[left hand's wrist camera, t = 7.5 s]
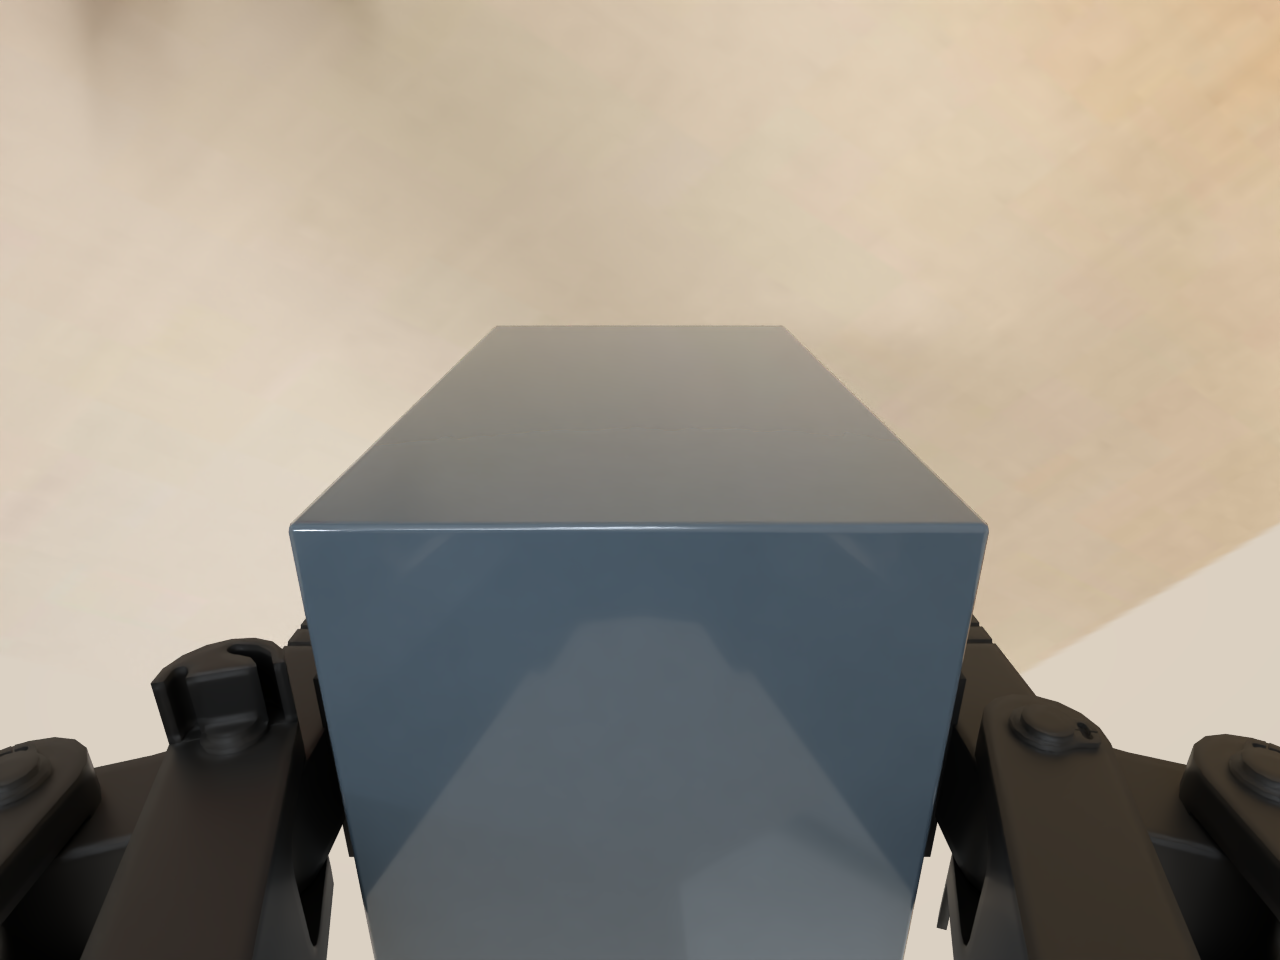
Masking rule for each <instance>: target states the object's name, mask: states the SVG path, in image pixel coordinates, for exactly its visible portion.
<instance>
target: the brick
mask: <svg viewBox="0 0 1280 960" xmlns="http://www.w3.org/2000/svg"><path fill="white" fill-rule="evenodd" d="M988 534H989V529H988V525H987V523H986V522H985V521H984V520H983V519H982V518H981V517H980V516H979V515H978V514H977V513H976V512H975V511H974V510H973V509H972V508H970V507H969V506H968V505H967V504H966V503H965V502H964V501H963V500H962V499H961V498H960V497H959V496H958V495H957V494H956V493H955V492H954V491H953V490H952V489H951V488H950V487H949V486H948V485H947V484H946V483H945V482H944V481H943V480H942V479H941V478H940V477H939V476H937V475H936V474H935V473H934V472H933V471H932V470H931V469H930V468H929V467H928V466H927V465H926V464H925V463H924V462H923V461H922V460H921V459H920V458H919V457H918V456H917V455H916V454H915V453H914V452H913V451H912V450H911V449H910V448H909V447H908V446H907V445H906V444H905V443H903V442H902V441H901V440H900V439H899V438H898V437H897V436H896V435H895V434H894V433H893V432H892V431H891V430H890V429H889V428H888V427H887V426H886V425H885V424H884V423H883V422H882V421H881V420H880V419H879V418H878V417H877V416H876V415H875V414H874V413H873V412H872V411H870V410H869V409H868V408H867V407H866V406H865V405H864V404H863V403H862V402H861V401H860V400H859V399H858V398H857V397H856V396H855V395H854V394H853V393H852V392H851V391H850V390H849V389H848V388H847V387H846V386H845V385H844V384H843V383H842V382H841V381H840V380H839V379H837V378H836V377H835V376H834V375H833V374H832V373H831V372H830V371H829V370H828V369H827V368H826V367H825V366H824V365H823V364H822V363H821V362H820V361H819V360H818V359H817V358H816V357H815V356H814V355H813V354H812V353H811V352H810V351H809V350H808V349H807V348H806V347H804V346H803V345H802V344H801V343H800V342H799V341H798V340H797V339H796V338H795V337H794V336H793V335H792V334H791V333H790V332H789V331H788V330H787V329H786V328H785V327H783V326H496V327H494V328H493V329H492V330H491V331H490V332H489V333H488V334H487V335H486V336H485V337H484V338H483V339H482V340H481V341H480V342H478V343H477V344H476V345H475V346H474V347H473V348H472V349H471V350H470V351H469V352H468V353H467V354H466V355H465V356H464V357H463V358H462V359H461V360H460V361H459V362H458V363H457V364H456V365H455V366H454V367H453V368H451V369H450V370H449V371H448V372H447V373H446V374H445V375H444V376H443V377H442V378H441V379H440V380H439V381H438V382H437V383H436V384H435V385H434V386H433V387H432V388H431V389H430V390H429V391H428V392H427V393H426V394H425V395H423V396H422V397H421V398H420V399H419V400H418V401H417V402H416V403H415V404H414V405H413V406H412V407H411V408H410V409H409V410H408V411H407V412H406V413H405V414H404V415H403V416H402V417H401V418H400V419H399V420H398V421H396V422H395V423H394V424H393V425H392V426H391V427H390V428H389V429H388V430H387V431H386V432H385V433H384V434H383V435H382V436H381V437H380V438H379V439H378V440H377V441H376V442H375V443H374V444H373V445H372V446H371V447H369V448H368V449H367V450H366V451H365V452H364V453H363V454H362V455H361V456H360V457H359V458H358V459H357V460H356V461H355V462H354V463H353V464H352V465H351V466H350V467H349V468H348V469H347V470H346V471H345V472H344V473H342V474H341V475H340V476H339V477H338V478H337V479H336V480H335V481H334V482H333V483H332V484H331V485H330V486H329V487H328V488H327V489H326V490H325V491H324V492H323V493H322V494H321V495H320V496H319V497H318V498H317V499H315V500H314V501H313V502H312V503H311V504H310V505H309V506H308V507H307V508H306V509H305V510H304V511H303V512H302V513H301V514H300V515H299V516H298V517H297V518H296V519H295V520H294V521H293V522H292V523H291V524H290V527H289V536H290V541H291V546H292V551H293V556H294V561H295V566H296V571H297V576H298V581H299V586H300V591H301V596H302V601H303V606H304V611H305V616H306V620H307V625H308V630H309V635H310V640H311V645H312V650H313V655H314V660H315V665H316V670H317V675H318V680H319V685H320V690H321V695H322V700H323V705H324V710H325V715H326V720H327V725H328V730H329V735H330V740H331V745H332V750H333V755H334V759H335V764H336V769H337V774H338V779H339V784H340V789H341V794H342V799H343V804H344V809H345V814H346V819H347V824H348V829H349V834H350V839H351V844H352V849H353V854H354V859H355V864H356V869H357V874H358V879H359V884H360V889H361V894H362V899H363V903H364V908H365V913H366V918H367V923H368V928H369V933H370V938H371V943H372V948H373V953H374V958H375V960H903V959H904V954H905V949H906V944H907V939H908V934H909V929H910V924H911V919H912V914H913V909H914V904H915V899H916V894H917V889H918V884H919V879H920V874H921V869H922V864H923V859H924V854H925V849H926V844H927V839H928V834H929V829H930V824H931V819H932V814H933V809H934V804H935V799H936V794H937V789H938V784H939V779H940V774H941V769H942V764H943V759H944V754H945V749H946V744H947V739H948V734H949V729H950V724H951V719H952V714H953V709H954V704H955V699H956V694H957V689H958V684H959V679H960V674H961V669H962V664H963V659H964V654H965V649H966V644H967V639H968V634H969V629H970V624H971V619H972V614H973V609H974V604H975V599H976V594H977V589H978V584H979V579H980V574H981V569H982V564H983V559H984V554H985V549H986V544H987V539H988Z"/></svg>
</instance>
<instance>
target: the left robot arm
mask: <svg viewBox="0 0 1280 960" xmlns="http://www.w3.org/2000/svg"><path fill="white" fill-rule="evenodd" d="M151 686H152V690H153V693H154V696H155V699H156V703H157V706H158V709H159V712H160V716H161V719H162V722H163V725H164V729H165V732H166V735H167V738H168V742H169V747H168V749H167V751H166V752H162V753H159V754H155V755H152V756H147V757H142V758H138V759H133V760H129V761H124V762H119V763H115V764H110V765H105V766H101V767H96V768H94V767H93V764H92V762H91V759H90V756H89V753H88V751H87V748H86V747H85V746H83V745H82V744H81V743H79V742H78V741H76V740H75V739H66V738H57V737H53V738H46V739H40V740H33V741H28V742H25V743H21V744H17V745H15V746H13V747H11V746H10V747H8V748H5V749H3V750H0V960H326V958H327V948H328V938H329V927H330V917H331V907H332V896H333V886H334V883H333V877H332V871H331V866H330V861H329V857H328V854H329V852H330V850H331V848H332V846H333V844H334V842H335V839H336V837H337V835H338V833H339V831H340V829H341V827H342V824H343V829H344V834H345V838H346V843H347V848H348V853H349V857H354V854H353V849H352V844H351V839H350V834H349V829H348V824H347V819H346V814H345V809H344V804H343V799H342V794H341V789H340V784H339V779H338V774H337V769H336V764H335V759H334V755H333V750H332V745H331V740H330V735H329V730H328V725H327V720H326V715H325V710H324V705H323V700H322V695H321V690H320V685H319V680H318V675H317V670H316V665H315V660H314V655H313V650H312V645H311V640H310V635H309V630H308V625H307V620H306V619H305V620H304V622H303V623H302V624H301V629H297V631H296V632H295V633H294V635H293V636H292V637H291V638H290V640H289V641H288V646H284V648H283V649H282V648H280V647H279V646H278V645H276V644H275V643H274V642H272V641H267V640H263V639H258V638H243V639H230V640H226V641H222V642H218V643H214V644H209V645H206V646H204V647H201V648H199V649H197V650H194V651H192V652H190V653H187V654H185V655H183V656H181V657H180V658H178V659H177V660H175V661H174V662H172V663H171V664H169V665H168V666H166V667H165V668H163V669H162V670H161V672H160V673H159V674H158V675H157V676H156V678H155V679H154V680H153V681H152V683H151ZM937 822H938V824H939V826H940V828H941V830H942V832H943V835H944V837H945V839H946V841H947V843H948V845H949V847H950V850H951V852H952V856H951V861H950V866H949V870H948V875H947V879H946V884H945V888H944V893H943V897H942V902H941V907H940V911H939V917H938V923H937V928H940V929H944V930H946V929H947V925H948V921H949V916H950V925H951V936H952V946H953V956H954V960H1280V747H1279V746H1276V745H1274V744H1271V743H1266V742H1265V741H1261V740H1257V739H1254V738H1249V737H1242V736H1236V735H1229V734H1221V735H1212V736H1205V737H1204V738H1202V739H1201V740H1200V741H1198V742H1197V743H1195V744H1194V746H1193V749H1192V752H1191V754H1190V757H1189V760H1188V763H1187V765H1184V764H1179V763H1175V762H1170V761H1166V760H1161V759H1156V758H1152V757H1147V756H1142V755H1138V754H1133V753H1128V752H1125V751H1121V750H1118V749H1114V748H1112V745H1111V743H1110V742H1109V740H1108V739H1107V737H1106V736H1105V735H1104V733H1103V732H1102V730H1101V729H1100V728H1099V727H1098V726H1097V725H1095V724H1094V723H1093V722H1092V721H1090V720H1089V719H1088V718H1086V717H1085V716H1084V715H1083V714H1081V713H1079V712H1077V711H1075V710H1073V709H1071V708H1069V707H1067V706H1065V705H1063V704H1061V703H1059V702H1056V701H1052V700H1048V699H1045V698H1041V697H1038V696H1036V695H1035V694H1034V693H1033V691H1032V690H1031V689H1030V687H1029V686H1028V685H1027V684H1026V682H1025V681H1024V680H1023V678H1022V677H1021V676H1020V675H1019V673H1018V672H1017V671H1016V669H1015V668H1014V667H1013V666H1012V664H1011V663H1010V662H1009V660H1008V659H1007V658H1006V657H1005V655H1004V654H1003V653H1002V651H1001V650H1000V649H999V648H998V646H997V645H996V644H993V643H992V639H991V637H990V636H989V635H988V633H987V632H986V631H985V630H984V628H983V627H980V626H979V622H978V621H977V619H976V618H975V617H974V615H973V614H972V619H971V624H970V629H969V634H968V639H967V644H966V649H965V654H964V659H963V664H962V669H961V674H960V679H959V684H958V689H957V694H956V699H955V704H954V709H953V714H952V719H951V724H950V729H949V734H948V739H947V744H946V749H945V754H944V759H943V764H942V769H941V774H940V779H939V784H938V789H937V794H936V799H935V804H934V809H933V814H932V819H931V824H930V829H929V834H928V839H927V844H926V849H925V854H924V857H930V855H931V851H932V846H933V841H934V836H935V831H936V826H937Z"/></svg>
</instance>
